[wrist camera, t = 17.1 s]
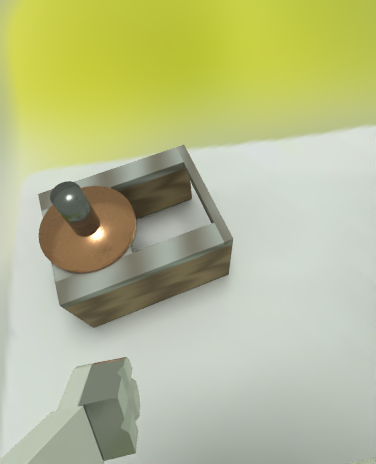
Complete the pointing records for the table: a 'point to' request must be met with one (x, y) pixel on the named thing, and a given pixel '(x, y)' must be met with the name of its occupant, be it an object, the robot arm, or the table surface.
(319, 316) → the table surface
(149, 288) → the wood and metal frame
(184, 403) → the table surface
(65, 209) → the spinning top
